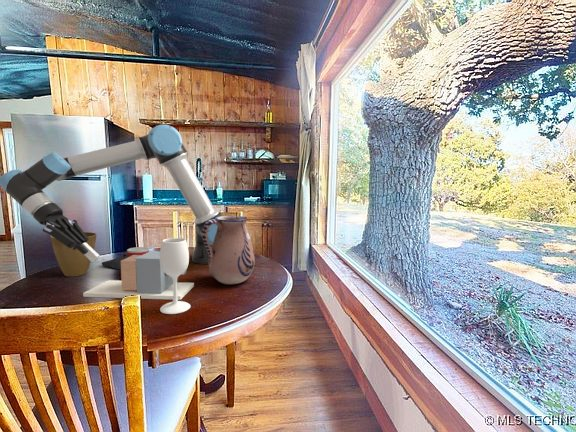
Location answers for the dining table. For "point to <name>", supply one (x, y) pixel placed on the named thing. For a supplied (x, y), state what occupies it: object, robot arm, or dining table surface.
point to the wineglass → (174, 270)
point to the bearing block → (143, 282)
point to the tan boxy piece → (130, 273)
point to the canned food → (137, 251)
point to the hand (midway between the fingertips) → (95, 258)
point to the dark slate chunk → (115, 262)
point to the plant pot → (72, 256)
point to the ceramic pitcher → (229, 250)
